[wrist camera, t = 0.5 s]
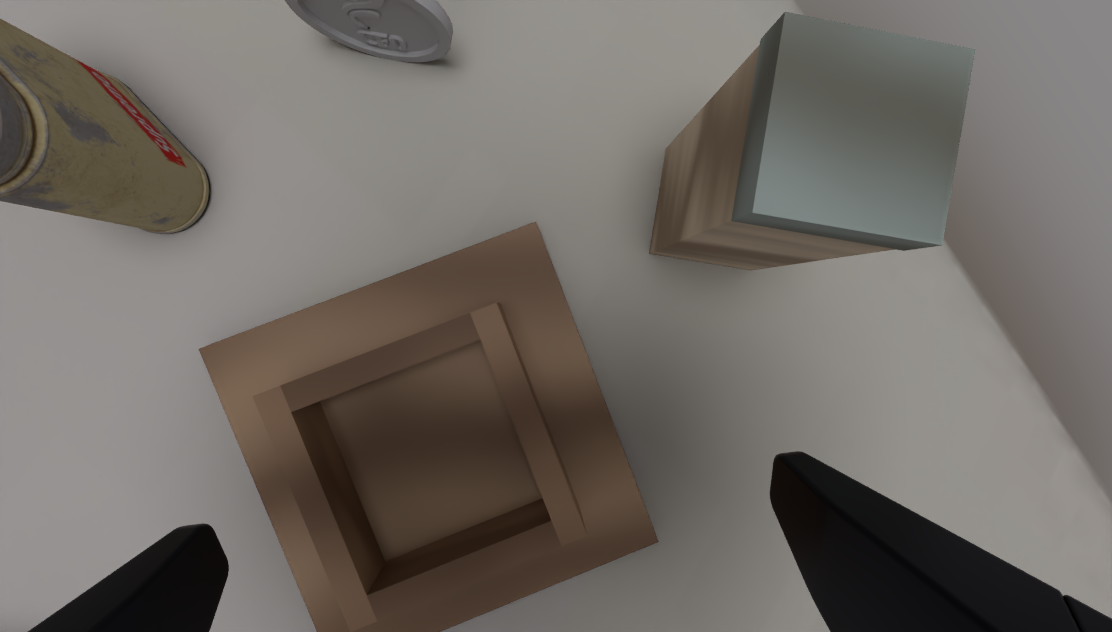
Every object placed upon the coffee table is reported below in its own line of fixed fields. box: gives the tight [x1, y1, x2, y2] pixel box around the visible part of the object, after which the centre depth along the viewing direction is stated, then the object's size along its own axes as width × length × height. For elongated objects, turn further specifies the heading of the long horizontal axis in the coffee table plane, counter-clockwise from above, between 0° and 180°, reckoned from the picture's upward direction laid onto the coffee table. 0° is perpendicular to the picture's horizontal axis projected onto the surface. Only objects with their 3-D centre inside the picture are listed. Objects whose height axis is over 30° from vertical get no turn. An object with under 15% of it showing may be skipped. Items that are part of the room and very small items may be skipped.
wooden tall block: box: [649, 12, 975, 270], centre depth 17 cm, size 4×4×10 cm
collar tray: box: [199, 222, 659, 632], centre depth 20 cm, size 14×14×3 cm
